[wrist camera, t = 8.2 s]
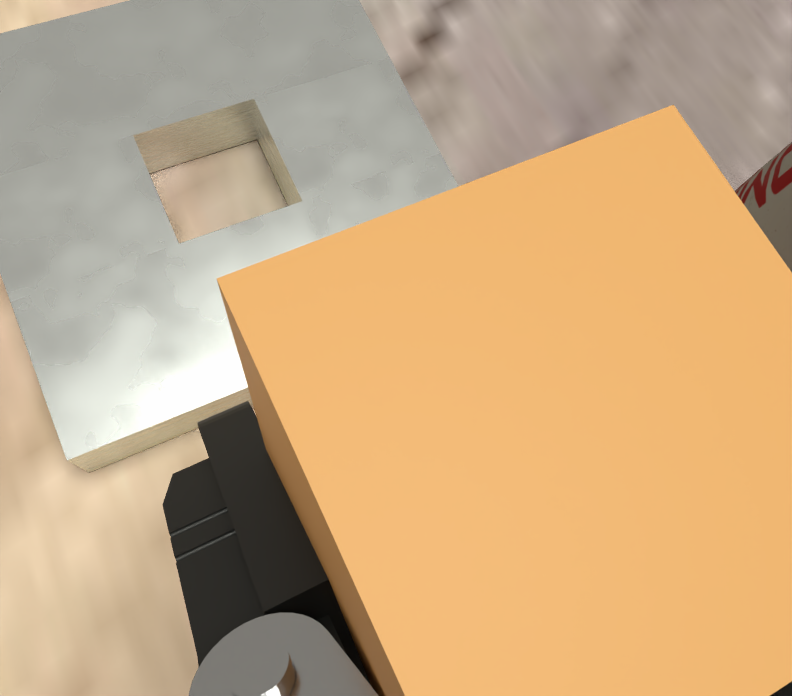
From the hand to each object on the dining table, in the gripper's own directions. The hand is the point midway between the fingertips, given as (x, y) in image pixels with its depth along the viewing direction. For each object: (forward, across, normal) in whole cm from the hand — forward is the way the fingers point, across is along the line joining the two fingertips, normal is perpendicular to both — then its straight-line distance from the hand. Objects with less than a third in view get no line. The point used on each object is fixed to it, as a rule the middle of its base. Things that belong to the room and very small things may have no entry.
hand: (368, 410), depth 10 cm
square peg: (+2, 0, +6) cm, 6 cm away
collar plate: (+24, -2, +4) cm, 24 cm away
